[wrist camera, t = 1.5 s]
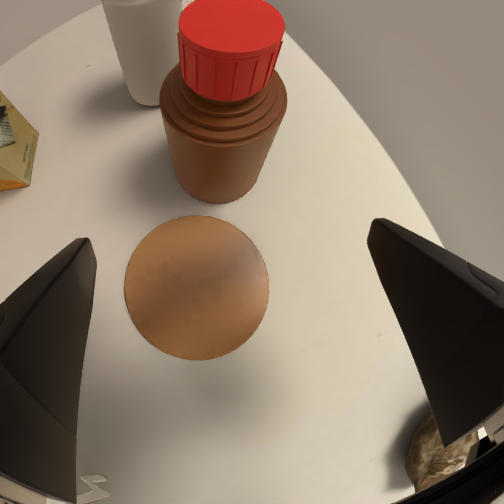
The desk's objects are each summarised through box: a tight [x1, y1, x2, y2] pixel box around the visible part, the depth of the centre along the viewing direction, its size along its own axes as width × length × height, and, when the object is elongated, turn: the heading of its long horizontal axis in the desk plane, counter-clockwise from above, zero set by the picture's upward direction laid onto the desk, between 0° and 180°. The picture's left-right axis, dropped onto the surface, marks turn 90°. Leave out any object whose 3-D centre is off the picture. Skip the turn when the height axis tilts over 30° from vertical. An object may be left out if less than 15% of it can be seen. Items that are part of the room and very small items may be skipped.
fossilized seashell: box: [405, 411, 479, 493], centre depth 20 cm, size 8×7×10 cm
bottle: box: [159, 62, 287, 204], centre depth 16 cm, size 6×6×14 cm
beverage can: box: [102, 0, 182, 106], centre depth 17 cm, size 5×5×12 cm
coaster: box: [125, 216, 269, 360], centre depth 21 cm, size 10×10×1 cm
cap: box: [177, 0, 285, 101], centre depth 11 cm, size 4×4×3 cm
